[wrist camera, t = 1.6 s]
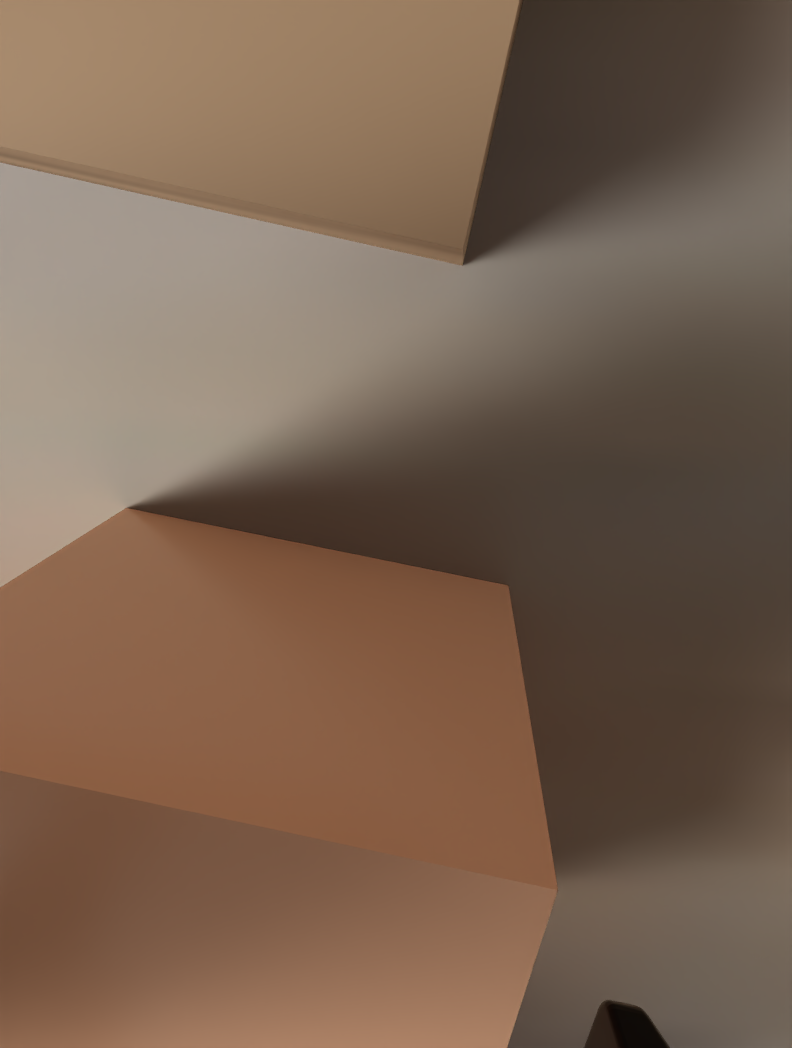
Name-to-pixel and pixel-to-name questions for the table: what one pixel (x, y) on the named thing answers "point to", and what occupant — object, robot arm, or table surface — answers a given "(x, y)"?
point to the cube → (262, 798)
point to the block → (267, 107)
